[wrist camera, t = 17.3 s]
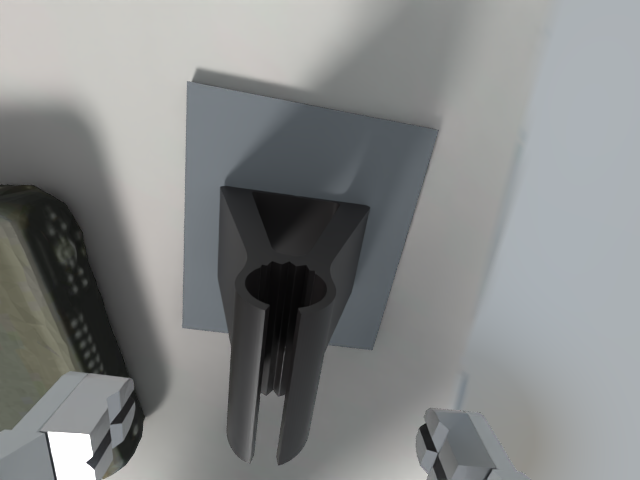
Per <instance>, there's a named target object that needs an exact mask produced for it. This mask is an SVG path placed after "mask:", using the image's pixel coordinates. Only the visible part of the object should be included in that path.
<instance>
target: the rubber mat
mask: <svg viewBox="0 0 640 480" xmlns="http://www.w3.org/2000/svg"><path fill="white" fill-rule="evenodd" d="M438 131H439V130H436V129H431V128H426V127H421V126H415V125H410V124H405V123H400V122H395V121H390V120H385V119H379V118H374V117H369V116H364V115H359V114H354V113H348V112H343V111H338V110H333V109H328V108H323V107H318V106H312V105H307V104H302V103H297V102H292V101H287V100H281V99H276V98H271V97H266V96H261V95H256V94H251V93H245V92H240V91H235V90H230V89H225V88H220V87H215V86H209V85H204V84H199V83H194V82H189V81H187V114H186V167H185V219H184V272H183V324H182V328H188V329H196V330H205V331H213V332H222V333H228V328H227V323H226V318H225V313H224V308H223V303H222V298H221V293H220V288H219V282H218V277H217V273H218V242H219V212H220V187H221V186H230V187H238V188H245V189H252V190H260V191H267V192H274V193H282V194H289V195H294V196H298V197H299V196H303V197H311V198H318V199H325V200H333V201H340V202H347V203H355V204H362V205H367V206H369V207H370V211H369V215H368V220H367V225H366V229H365V234H364V238H363V243H362V248H361V252H360V257H359V261H358V266H357V271H356V275H355V280H354V285H353V289H352V293H351V295H350V297H349V299H348V302H347V304H346V306H345V308H344V310H343V313H342V315H341V317H340V319H339V322H338V324H337V326H336V328H335V330H334V333H333V335H332V337H331V339H330V342H329V344H328V345H333V346H342V347H350V348H359V349H368V350H373V347H374V343H375V340H376V337H377V333H378V330H379V327H380V323H381V320H382V317H383V313H384V310H385V307H386V303H387V300H388V297H389V293H390V290H391V287H392V283H393V280H394V277H395V273H396V270H397V267H398V264H399V260H400V257H401V254H402V250H403V247H404V244H405V240H406V237H407V234H408V230H409V227H410V224H411V220H412V217H413V214H414V210H415V207H416V204H417V200H418V197H419V194H420V190H421V187H422V184H423V180H424V177H425V174H426V170H427V167H428V164H429V160H430V157H431V154H432V151H433V147H434V144H435V141H436V137H437V134H438Z"/></svg>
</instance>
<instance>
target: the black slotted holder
mask: <svg viewBox="0 0 640 480" xmlns="http://www.w3.org/2000/svg"><path fill="white" fill-rule="evenodd" d="M369 211H370V207H369V206H367V205H362V204H355V203H347V202H340V201H333V200H325V199H318V198H311V197H303V196H299V197H298V196H294V195H289V194H282V193H274V192H267V191H260V190H252V189H245V188H238V187H230V186H221V187H220V212H219V242H218V273H217V277H218V282H219V288H220V293H221V298H222V303H223V308H224V313H225V318H226V323H227V328H228V333H229V338H230V343H231V360H230V378H229V396H228V413H227V438H228V441H229V444H230V446H231V448H232V450H233V451H234V452H235V454H236V455H237V456H238V457H239V458H241V459H242V460H244V461H245V462H247V463H249V464H250V462H251V460H252V458H253V456H254V449H255V440H256V430H257V421H258V412H259V402H260V393H262V394H264V395H266V396H267V395H268V394H269V393H270V392H271V391H272V390H274V392H275V393H276V394H277V395H278V396H282V395H284V394H285V401H284V408H283V415H282V422H281V428H280V435H279V442H278V449H277V456H276V458H277V462H278V465H281V464H284V463H286V462H288V461H290V460H291V459H293V458H294V457H295V456H296V455H297V454H298V453H299V452H300V451H301V450H302V448H303V447H304V445H305V443H306V441H307V438H308V435H309V430H310V424H311V419H312V414H313V409H314V404H315V399H316V394H317V389H318V384H319V379H320V373H321V368H322V363H323V358H324V353H325V350H326V348H327V346H328V344H329V342H330V339H331V337H332V335H333V333H334V330H335V328H336V326H337V324H338V322H339V319H340V317H341V315H342V313H343V310H344V308H345V306H346V304H347V302H348V299H349V297H350V295H351V293H352V289H353V285H354V280H355V275H356V271H357V266H358V261H359V257H360V252H361V248H362V243H363V238H364V234H365V229H366V225H367V220H368V215H369Z"/></svg>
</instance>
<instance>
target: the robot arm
mask: <svg viewBox="0 0 640 480" xmlns="http://www.w3.org/2000/svg"><path fill="white" fill-rule="evenodd" d="M133 390H134V381H133V379H131V378H124V377H116V376H108V375H101V374H93V373H83V372H74V371H69V372H68V373H66V374H64V375H63V376H61V377H60V379H59V380H58V381H57V382H56V383H55V384H54V385H53V386H52V387H51V388H50V389H49V390H48V391H47V392H46V394H45V395H44V396H43V397H42V398H41V399H40V400H39V401H38V402H37V403H36V404H35V405H34V406H33V408H32V409H31V410H30V411H29V412H28V413H27V414H26V415H25V416H24V417H23V418H22V419H21V420H20V421H19V423H18V424H17V425H16V426H15V427H14V428H13V429H12V430H3V431H1V432H0V480H102V478H103V476H104V474H105V473H106V471H107V469H108V467H109V466H110V464H111V462H112V460H113V453H112V449H113V448H114V447H116V446H117V445H119V444H120V443H121V442H123V440H124V439H125V437H126V435H127V433H128V431H129V429H130V426H131V424H132V421H133V418H134V413H135V401H134V400H133V399H132V398H131V396H130V395H131V393H132V392H133ZM424 419H425V422H426V423H425V424H424V425H422V426H421V427H420V428H419V430H418V432H417V435H416V452H417V457H418V460H419V463H420V466H421V467H422V468H423V469H424V470H425V471H426V472H427V474H428V476H427V480H531V479H530V478H529V477H528V476H526V475H525V474H524V473H523V472H520V471H517V470H516V469H515V467H514V465H513V464H512V462H511V460H510V459H509V457H508V455H507V454H506V452H505V450H504V448H503V447H502V445H501V443H500V442H499V440H498V438H497V437H496V435H495V433H494V431H493V430H492V428H491V426H490V425H489V423H488V421H487V420H486V418H485V417H484V415H482V414H481V413H480V412H469V411H461V410H450V409H438V408H429V409H428V410H427V411H426V413H425V415H424Z"/></svg>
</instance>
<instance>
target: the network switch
mask: <svg viewBox="0 0 640 480" xmlns="http://www.w3.org/2000/svg"><path fill="white" fill-rule="evenodd" d="M69 371H74V372H83V373H93V374H101V375H108V376H116V377H124V378H129V376H128V373H127V370H126V367H125V364H124V361H123V358H122V355H121V353H120V350H119V348H118V345H117V343H116V340H115V338H114V335H113V333H112V330H111V327H110V324H109V322H108V319H107V315H106V312H105V308H104V304H103V301H102V297H101V295H100V293H99V290H98V288H97V284H96V281H95V278H94V276H93V274H92V272H91V269H90V267H89V264H88V259H87V254H86V250H85V246H84V243H83V233H82V231H81V230H80V228H79V226H78V225H77V223H76V221H75V219H74V218H73V216H72V214H71V212H70V211H69V209H68V208H67V206H66V205H65V203H63V202H61V201H60V200H58V199H56V198H55V197H53V196H51V195H50V194H47V193H45V192H43V191H42V190H40V189H39V188H37V187H36V186H32V185H18V186H12V185H0V432H1V431H3V430H12V429H13V428H14V427H15V426H16V425H17V424H18V423H19V421H20V420H21V419H22V418H23V417H24V416H25V415H26V414H27V413H28V412H29V411H30V410H31V409H32V408H33V406H34V405H35V404H36V403H37V402H38V401H39V400H40V399H41V398H42V397H43V396H44V395H45V394H46V392H47V391H48V390H49V389H50V388H51V387H52V386H53V385H54V384H55V383H56V382H57V381H58V380H59V379H60V377H61V376H63V375H64V374H66V373H68V372H69ZM130 396H131V398H132V399H133V400H134V401H135V413H134V418H133V421H132V424H131V426H130V429H129V431H128V433H127V435H126V437H125V439H124V440H123V442H121V443H120V444H119V445H117V446H116V447H114V448H113V449H112V453H113V460H112V462H111V464H110V466H109V467H108V469H107V471H106V473H105V474H104V476H103V478H102V479H105V478H107V477H109V476H111V475H113V474H114V473H116V472H117V471H118V470H120V469H121V468H122V467H124V466H125V465H126V464H127V463H128V461H129V460H130V458H131V457H132V456H133V454H134V453H135V450H136V448H137V446H138V444H139V441H140V439H141V437H142V431H143V420H144V417H145V416H144V415H143V413H142V409H141V406H140V404H139V401H138V399H137V397H136V394H135V391H134V390H133V392H132V393H131V395H130Z"/></svg>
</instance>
